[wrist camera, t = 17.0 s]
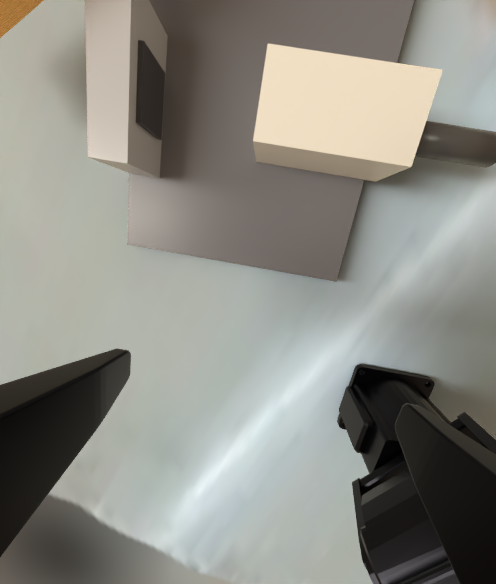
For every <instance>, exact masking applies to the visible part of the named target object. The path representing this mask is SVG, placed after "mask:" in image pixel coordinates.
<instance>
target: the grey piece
mask: <svg viewBox="0 0 496 584" xmlns="http://www.w3.org/2000/svg"><path fill="white" fill-rule="evenodd" d="M413 3H414V0H85V30H86V81H87V132H88V157H89V158H92V159H94V160H97V161H100V162H102V163H105V164H107V165H110V166H112V167H115V168H118V169H120V170H123V171H125V172H128V173H129V200H128V242H127V244H129V245H134V246H140V247H145V248H151V249H157V250H162V251H168V252H174V253H179V254H185V255H190V256H196V257H202V258H207V259H213V260H219V261H224V262H230V263H235V264H241V265H247V266H252V267H258V268H263V269H269V270H275V271H280V272H286V273H292V274H297V275H303V276H308V277H314V278H320V279H325V280H331V281H337V277H338V273H339V270H340V266H341V263H342V259H343V255H344V252H345V248H346V245H347V241H348V237H349V234H350V230H351V227H352V223H353V219H354V216H355V212H356V209H357V205H358V201H359V198H360V194H361V191H362V187H363V183H364V180H363V179H357V178H351V177H345V176H339V175H333V174H327V173H321V172H315V171H309V170H303V169H296V168H290V167H284V166H278V165H272V164H266V163H260V162H256V157H255V151H254V145H253V137H254V131H255V124H256V118H257V111H258V104H259V98H260V91H261V85H262V78H263V71H264V65H265V58H266V51H267V45H268V43H269V44H275V45H282V46H288V47H295V48H301V49H308V50H315V51H321V52H328V53H334V54H341V55H348V56H354V57H361V58H367V59H374V60H381V61H387V62H394V63H397V61H398V57H399V54H400V50H401V46H402V43H403V39H404V36H405V32H406V28H407V25H408V21H409V18H410V14H411V10H412V7H413Z"/></svg>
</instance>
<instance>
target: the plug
mask: <svg viewBox="0 0 496 584" xmlns="http://www.w3.org/2000/svg"><path fill="white" fill-rule="evenodd" d="M442 71H443V70H440V69H433V68H427V67H420V66H413V65H407V64H400V63H394V62H387V61H381V60H374V59H367V58H361V57H354V56H348V55H341V54H334V53H328V52H321V51H315V50H308V49H301V48H295V47H288V46H282V45H275V44H269V43H268V45H267V51H266V58H265V65H264V71H263V78H262V85H261V91H260V98H259V104H258V111H257V118H256V124H255V131H254V137H253V145H254V151H255V157H256V162H260V163H266V164H272V165H278V166H284V167H290V168H296V169H303V170H309V171H315V172H321V173H327V174H333V175H339V176H345V177H351V178H357V179H363V180H369V181H375V182H376V181H378V180H381V179H383V178H386V177H388V176H391V175H393V174H396V173H398V172H400V171H403V170H405V169H408V168H410V167H412V164H413V161H414V158H415V156H419V157H425V158H431V159H437V160H443V161H450V162H456V163H462V164H468V165H474V166H480V167H489V166H491V165H493V164H494V163H496V132H493V131H486V130H480V129H474V128H467V127H461V126H455V125H448V124H442V123H436V122H429V121H426V120H427V117H428V114H429V111H430V108H431V105H432V102H433V99H434V96H435V93H436V90H437V86H438V83H439V80H440V77H441V74H442Z"/></svg>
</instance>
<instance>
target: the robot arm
mask: <svg viewBox="0 0 496 584" xmlns="http://www.w3.org/2000/svg"><path fill="white" fill-rule="evenodd" d="M130 364H131V354H130V352H129V351H128V350H123V349H114V350H111V351H108V352H104V353H101V354H98V355H95V356H92V357H88V358H85V359H82V360H79V361H76V362H72V363H69V364H66V365H63V366H60V367H56V368H53V369H50V370H47V371H44V372H40V373H37V374H34V375H31V376H28V377H24V378H21V379H18V380H15V381H11V382H8V383H5V384H2V385H0V557H1V556H2V554H3V553H4V551H5V550H6V549H7V548H8V546H9V545H10V544H11V542H12V541H13V540H14V538H15V537H16V535H17V534H18V533H19V532H20V530H21V529H22V528H23V526H24V525H25V524H26V522H27V521H28V520H29V518H30V517H31V516H32V514H33V513H34V512H35V510H36V509H37V508H38V507H39V505H40V504H41V502H42V501H43V500H44V499H45V497H46V496H47V495H48V493H49V492H50V491H51V489H52V488H53V487H54V485H55V484H56V483H57V481H58V480H59V479H60V477H61V476H62V475H63V473H64V472H65V471H66V469H67V468H68V467H69V465H70V464H71V463H72V461H73V460H74V459H75V457H76V456H77V455H78V453H79V452H80V451H81V449H82V448H83V447H84V445H85V444H86V443H87V441H88V440H89V439H90V437H91V436H92V435H93V433H94V432H95V431H96V429H97V428H98V427H99V425H100V424H101V422H102V421H103V419H104V418H105V416H106V415H107V413H108V411H109V410H110V408H111V407H112V405H113V403H114V402H115V400H116V398H117V397H118V395H119V393H120V392H121V390H122V389H123V387H124V385H125V384H126V382H127V380H128V378H129V376H130ZM360 370H363V371H362V372H359V371H360ZM427 382H428V383H427ZM425 383H427V384H425ZM433 387H434V381H433V380H432V379H430V378H429V377H426V376H421V375H416V374H410V373H405V372H400V371H394V370H389V369H384V368H378V367H373V366H368V365H362V364H360V365H357V366H356V367H355V369H354V372H353V375H352V378H351V381H350V384H349V386H348V387H347V388H346V390H345V393H344V396H343V399H342V402H341V405H340V408H339V412H340V414H339V417H338V420H337V422H338V425H339V427H340V428H342V429H346V430H347V432H348V435H349V437H350V440H351V442H352V445H353V447H354V449H355V451H356V452H358V453H361V454H362V457H363V459H364V462H365V464H366V466H367V469H368V471H369V474H368V475H366V476H365V477H363V478H362V479H359V478H358V479H357V480H355V481H353V482H352V486H353V495H354V503H355V511H356V519H357V528H358V536H359V543H360V548H361V555H362V560H363V563H364V565H365V567H366V569H367V571H368V573H369V576H370V578H371V580H372V582H373V584H496V440H495V439H494V438H493V437H492V436H490V435H489V434H488V433H487V432H486V431H485V430H484V429H483V428H482V427H481V426H479V425H478V424H477V423H476V422H475V421H474V420H473V419H472V418H471V417H470V416H468V415H467V414H466V413H465V412H464V413H462V414H461V415H459V416H457V417H458V419H456V420H455V421H453V422H452V423H451V422H450V421H449V420H448V419H447V418H446V417H445V416H444V415H443V414H442V413H441V411H440V410H439V409H438V408H437V407H436V406H435V405H434V404H433V403H432V402H431V401H430V400H429V399H428V398H429V396H430V394H431V392H432V390H433ZM343 422H344V423H343Z"/></svg>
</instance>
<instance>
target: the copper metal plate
mask: <svg viewBox="0 0 496 584" xmlns="http://www.w3.org/2000/svg"><path fill="white" fill-rule="evenodd" d="M42 1H43V0H0V38H1V37H2V36H3V35H4V34H5V33H6V32H8V31H9V30H10V29H11V28H12V27H13V26H15V25H16V24H17V23H18V22H19V21H20V20H21V19H23V18H24V17H25V16H26V15H27V14H28V13H30V12H31V11H32V10H33V9H34V8H35V7H36V6H38V5H39V4H40V3H41V2H42Z"/></svg>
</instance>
